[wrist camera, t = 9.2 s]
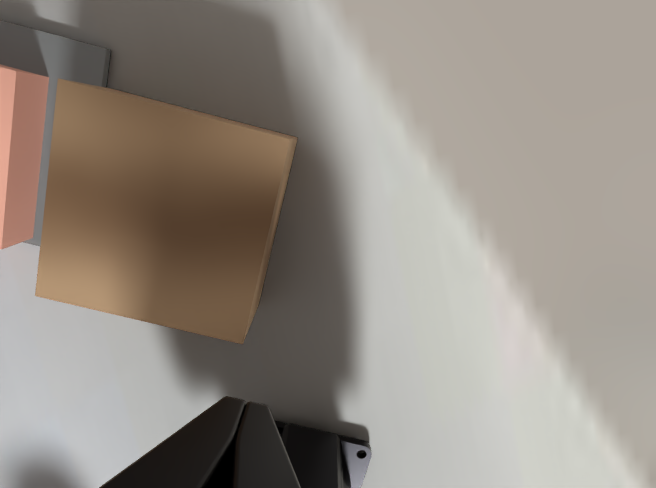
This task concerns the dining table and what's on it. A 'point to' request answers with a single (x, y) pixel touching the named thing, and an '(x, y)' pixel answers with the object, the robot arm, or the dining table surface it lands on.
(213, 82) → the dining table surface
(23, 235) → the pink block
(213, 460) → the robot arm
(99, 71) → the mat
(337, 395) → the dining table surface
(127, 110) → the brown square block
